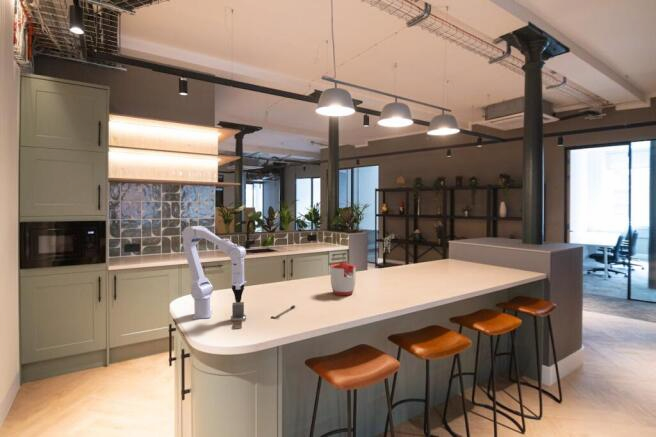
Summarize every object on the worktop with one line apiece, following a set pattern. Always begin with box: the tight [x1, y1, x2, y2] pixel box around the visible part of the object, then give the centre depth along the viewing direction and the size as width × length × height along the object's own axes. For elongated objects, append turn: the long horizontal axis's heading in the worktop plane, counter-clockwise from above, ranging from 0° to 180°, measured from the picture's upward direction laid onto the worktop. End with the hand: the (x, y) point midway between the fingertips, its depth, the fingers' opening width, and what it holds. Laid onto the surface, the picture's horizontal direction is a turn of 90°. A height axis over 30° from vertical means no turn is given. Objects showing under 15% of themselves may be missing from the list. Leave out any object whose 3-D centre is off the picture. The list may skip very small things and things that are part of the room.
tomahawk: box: [270, 305, 296, 320], centre depth 181 cm, size 21×7×1 cm, turn 155°
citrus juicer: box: [330, 260, 357, 296], centre depth 219 cm, size 16×17×20 cm
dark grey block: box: [231, 301, 245, 318], centre depth 170 cm, size 5×5×6 cm
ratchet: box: [230, 314, 247, 330], centre depth 166 cm, size 16×7×5 cm, turn 14°
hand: (238, 301), depth 170 cm, fingers open, 2 cm apart
